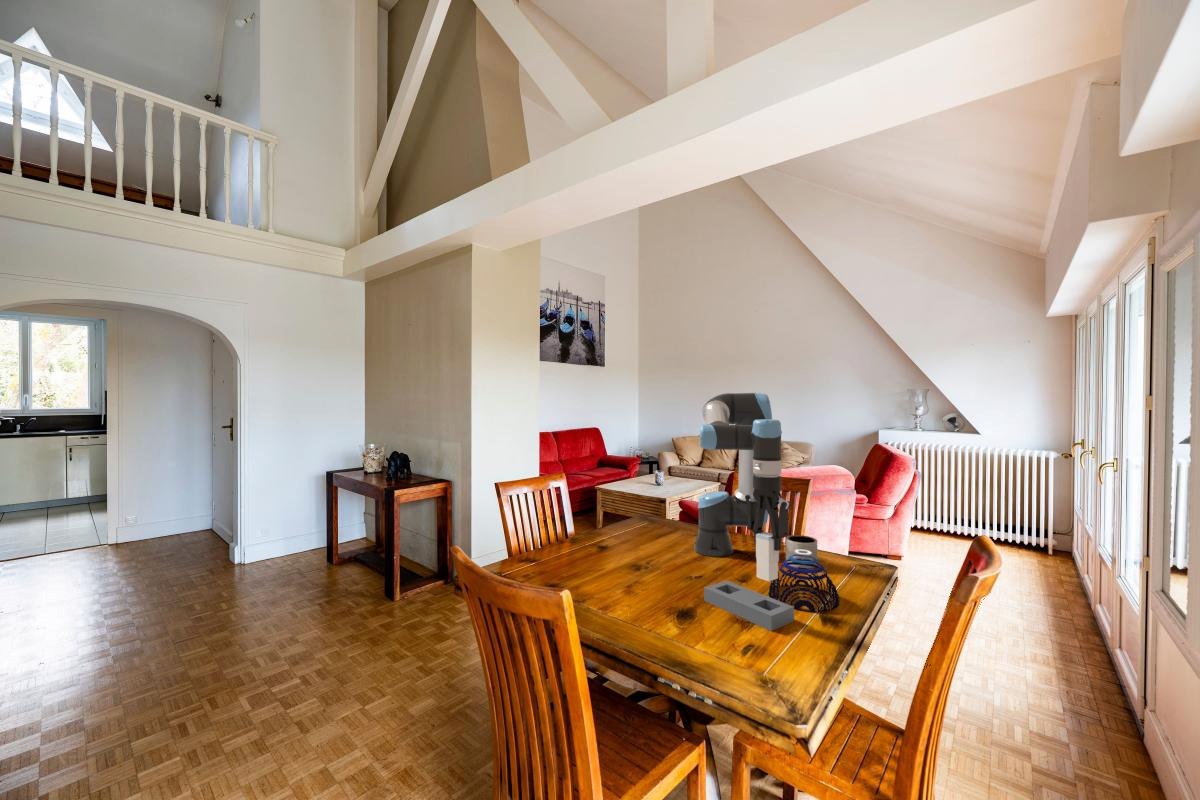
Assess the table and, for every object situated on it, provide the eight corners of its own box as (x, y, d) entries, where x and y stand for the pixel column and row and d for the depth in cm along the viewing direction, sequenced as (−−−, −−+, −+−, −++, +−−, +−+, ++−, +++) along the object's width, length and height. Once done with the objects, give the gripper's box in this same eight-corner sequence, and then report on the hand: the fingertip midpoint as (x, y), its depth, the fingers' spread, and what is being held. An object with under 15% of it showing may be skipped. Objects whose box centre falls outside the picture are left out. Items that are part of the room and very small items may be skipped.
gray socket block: (726, 593, 157) (726, 580, 157) (794, 621, 137) (794, 606, 137) (704, 600, 151) (704, 587, 151) (771, 631, 131) (771, 616, 131)
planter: (785, 567, 180) (785, 541, 180) (786, 558, 190) (786, 533, 190) (818, 571, 176) (818, 544, 176) (817, 562, 186) (817, 536, 186)
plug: (765, 574, 141) (765, 531, 141) (777, 578, 137) (777, 534, 137) (756, 577, 138) (756, 534, 138) (768, 581, 135) (768, 537, 135)
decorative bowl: (767, 607, 147) (767, 558, 147) (769, 583, 165) (769, 539, 165) (842, 617, 140) (842, 566, 140) (835, 590, 159) (835, 545, 159)
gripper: (733, 472, 143) (733, 554, 143) (785, 480, 129) (786, 570, 129) (750, 470, 147) (750, 549, 147) (802, 477, 133) (803, 565, 133)
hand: (767, 559), depth 138 cm, fingers closed on plug, 4 cm apart
